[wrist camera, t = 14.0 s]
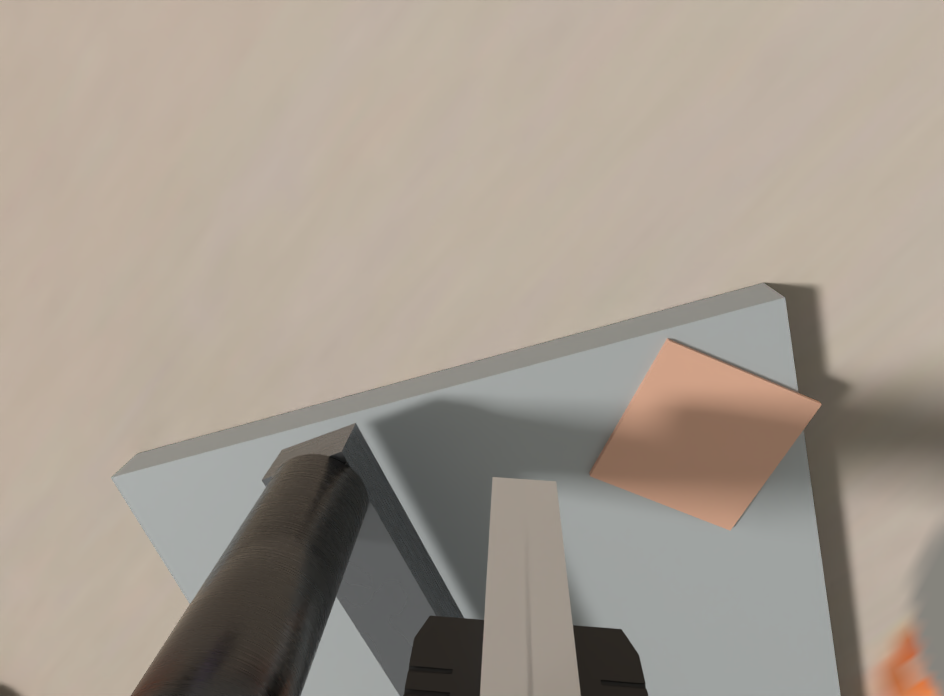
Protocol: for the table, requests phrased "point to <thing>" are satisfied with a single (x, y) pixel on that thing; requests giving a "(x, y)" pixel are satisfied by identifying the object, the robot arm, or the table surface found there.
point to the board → (580, 500)
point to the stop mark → (702, 435)
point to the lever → (305, 580)
